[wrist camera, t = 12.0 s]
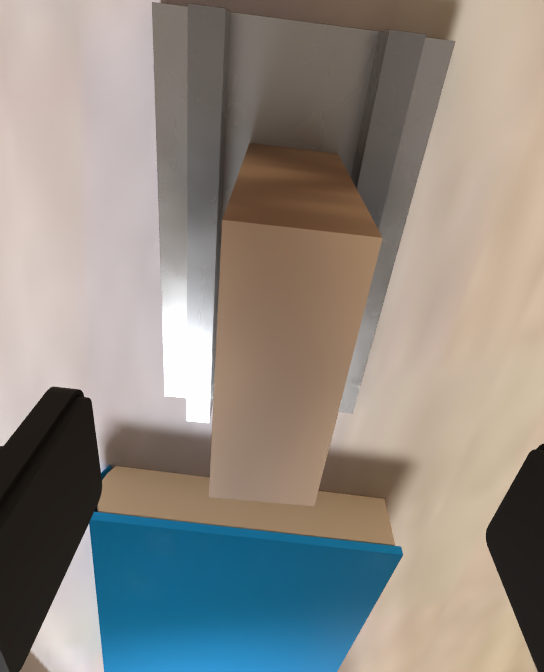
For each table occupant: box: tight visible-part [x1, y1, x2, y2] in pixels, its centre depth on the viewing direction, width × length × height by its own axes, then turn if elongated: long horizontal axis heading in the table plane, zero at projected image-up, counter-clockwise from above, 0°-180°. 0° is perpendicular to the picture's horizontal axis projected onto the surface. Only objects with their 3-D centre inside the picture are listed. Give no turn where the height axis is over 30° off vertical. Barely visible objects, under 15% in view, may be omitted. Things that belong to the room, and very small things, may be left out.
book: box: [89, 466, 403, 672], centre depth 31 cm, size 17×4×25 cm
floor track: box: [152, 2, 455, 423], centre depth 17 cm, size 15×9×2 cm, turn 174°
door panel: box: [209, 143, 383, 506], centre depth 14 cm, size 3×8×8 cm, turn 174°
